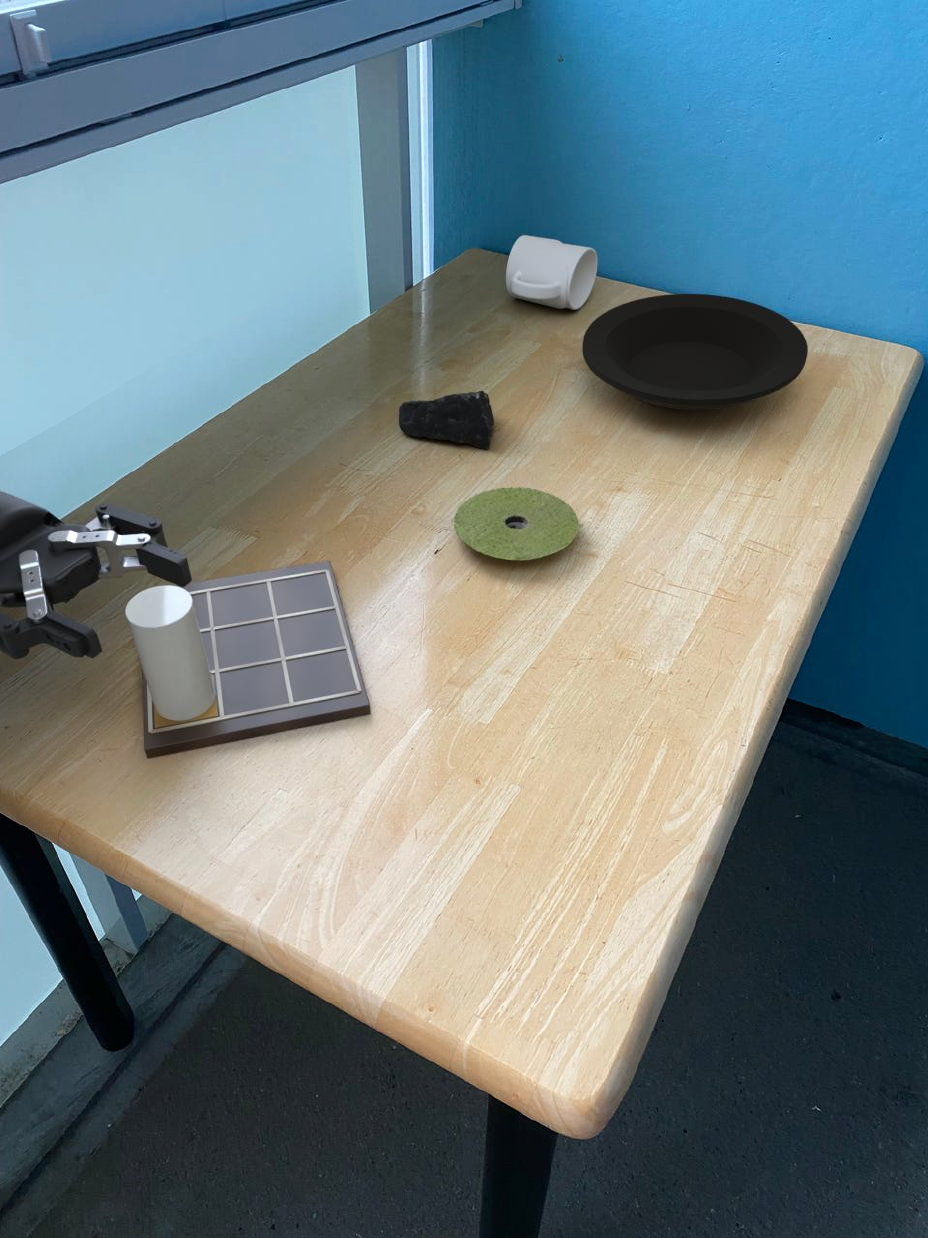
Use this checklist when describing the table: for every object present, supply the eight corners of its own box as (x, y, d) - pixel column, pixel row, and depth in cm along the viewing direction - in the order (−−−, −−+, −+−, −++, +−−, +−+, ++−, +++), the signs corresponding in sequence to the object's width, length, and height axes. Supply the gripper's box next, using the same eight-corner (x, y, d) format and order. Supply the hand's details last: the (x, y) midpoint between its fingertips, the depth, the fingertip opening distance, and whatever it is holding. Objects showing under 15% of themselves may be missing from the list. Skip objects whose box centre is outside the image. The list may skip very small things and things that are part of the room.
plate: (747, 472, 93) (759, 423, 90) (537, 411, 103) (540, 364, 99) (824, 365, 111) (836, 320, 108) (639, 321, 121) (645, 278, 117)
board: (147, 759, 65) (143, 748, 65) (142, 600, 79) (139, 590, 78) (370, 714, 69) (369, 704, 68) (331, 568, 82) (329, 558, 81)
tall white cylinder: (155, 726, 66) (125, 632, 60) (153, 684, 69) (124, 591, 64) (218, 714, 67) (194, 620, 61) (213, 673, 70) (190, 580, 64)
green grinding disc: (567, 584, 80) (568, 566, 79) (440, 566, 82) (440, 548, 81) (585, 512, 88) (586, 494, 87) (469, 496, 90) (469, 479, 89)
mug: (532, 283, 130) (535, 224, 125) (594, 296, 127) (600, 236, 122) (493, 314, 122) (495, 253, 117) (559, 329, 119) (563, 266, 114)
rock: (412, 408, 103) (410, 359, 100) (503, 419, 102) (504, 369, 98) (394, 440, 98) (392, 389, 94) (489, 452, 96) (490, 401, 93)
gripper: (-126, 547, 62) (44, 627, 56) (43, 450, 71) (204, 510, 65) (-83, 630, 67) (78, 712, 61) (70, 530, 76) (222, 592, 70)
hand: (143, 607), depth 63 cm, fingers open, 8 cm apart
